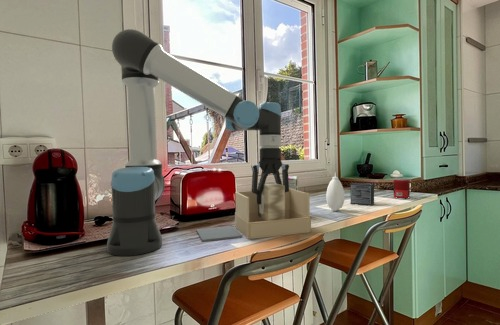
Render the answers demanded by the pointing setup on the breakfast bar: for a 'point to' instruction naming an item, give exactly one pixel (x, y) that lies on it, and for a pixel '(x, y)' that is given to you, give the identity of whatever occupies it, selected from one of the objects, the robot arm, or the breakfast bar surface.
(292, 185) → the candy bar box
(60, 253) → the breakfast bar surface
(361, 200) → the small box
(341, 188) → the air blower bulb
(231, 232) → the mat
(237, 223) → the carton
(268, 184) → the box
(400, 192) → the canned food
